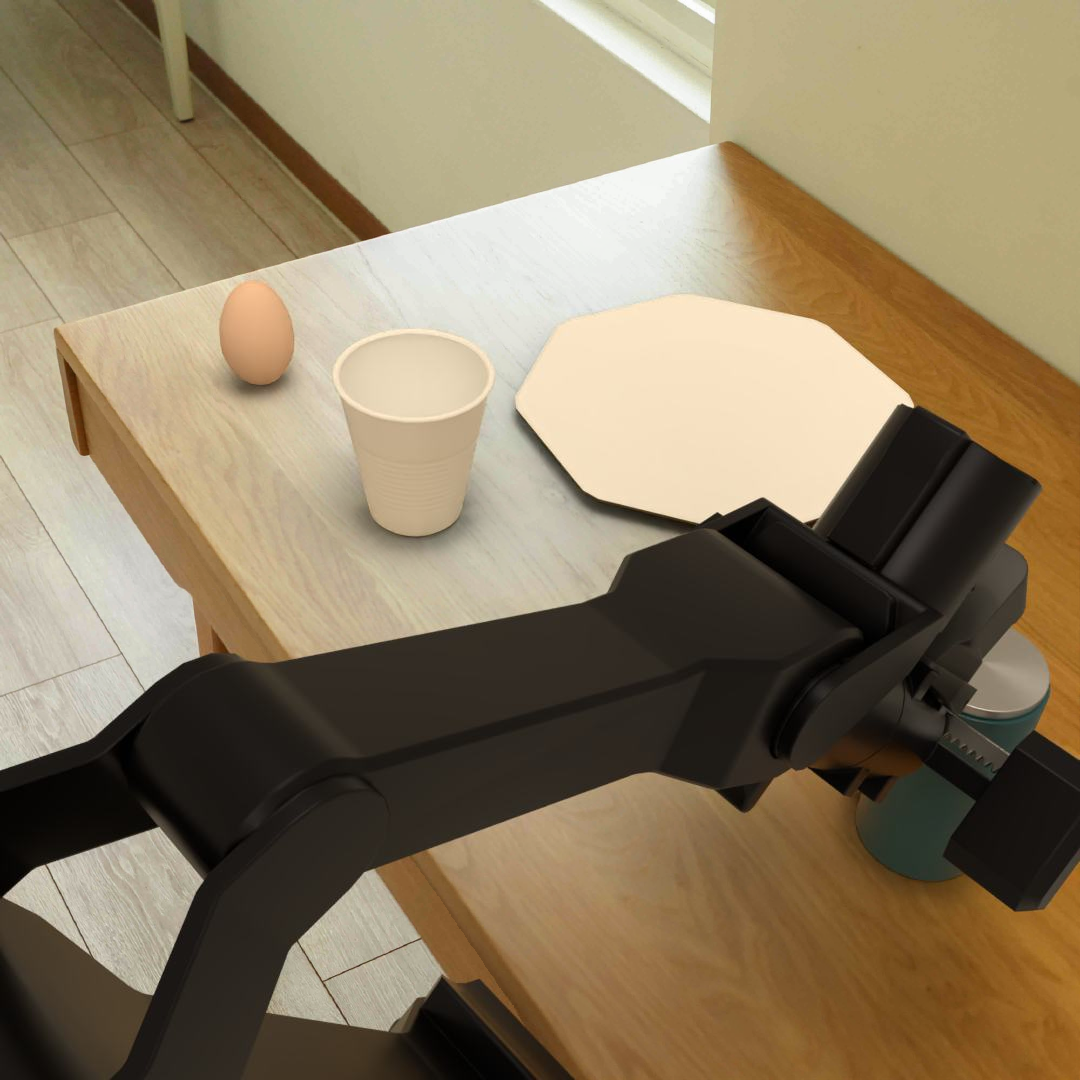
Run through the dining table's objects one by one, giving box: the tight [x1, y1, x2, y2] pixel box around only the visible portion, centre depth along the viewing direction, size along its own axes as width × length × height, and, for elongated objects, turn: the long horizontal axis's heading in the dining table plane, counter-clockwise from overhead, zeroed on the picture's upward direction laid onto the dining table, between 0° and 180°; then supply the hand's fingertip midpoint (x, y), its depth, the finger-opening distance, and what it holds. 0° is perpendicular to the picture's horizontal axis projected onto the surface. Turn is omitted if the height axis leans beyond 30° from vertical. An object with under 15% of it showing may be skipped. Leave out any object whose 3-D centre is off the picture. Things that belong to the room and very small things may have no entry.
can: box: [855, 626, 1051, 882], centre depth 68 cm, size 7×7×13 cm
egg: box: [218, 279, 295, 386], centre depth 97 cm, size 5×5×8 cm
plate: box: [514, 293, 915, 526], centre depth 98 cm, size 28×28×2 cm
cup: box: [331, 328, 496, 537], centre depth 86 cm, size 10×10×11 cm
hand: (929, 735), depth 64 cm, fingers open, 9 cm apart
